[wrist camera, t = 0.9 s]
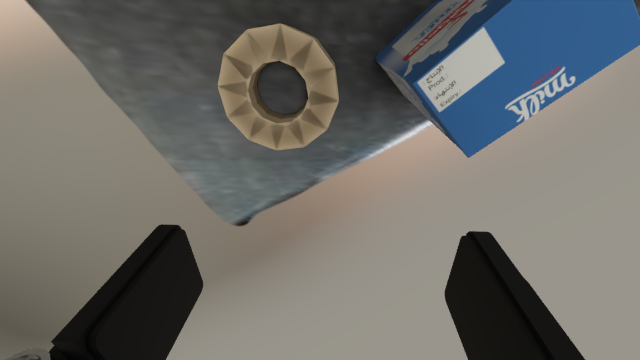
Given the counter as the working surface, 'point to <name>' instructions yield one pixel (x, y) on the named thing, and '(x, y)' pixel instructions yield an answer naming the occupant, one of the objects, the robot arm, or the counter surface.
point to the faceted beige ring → (244, 96)
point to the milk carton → (503, 59)
